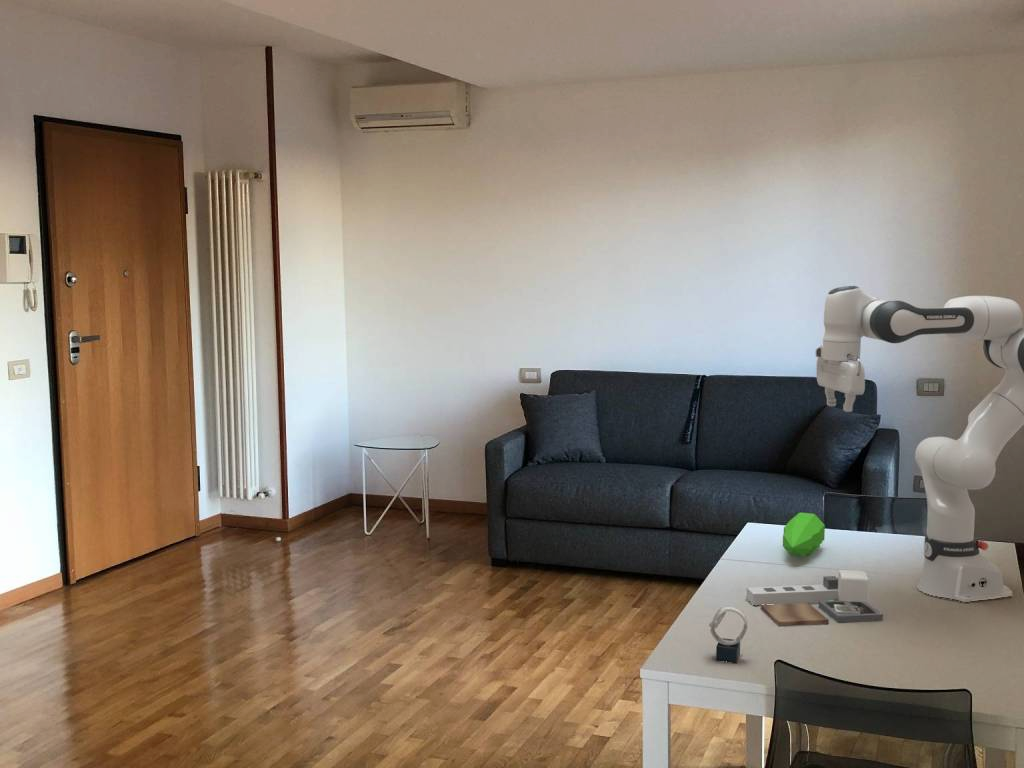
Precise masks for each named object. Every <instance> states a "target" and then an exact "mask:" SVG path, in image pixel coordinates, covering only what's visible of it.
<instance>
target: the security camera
mask: <svg viewBox="0 0 1024 768" xmlns="http://www.w3.org/2000/svg"><path fill="white" fill-rule="evenodd" d="M837 575H838V577H837V578H838V596H839V600H840V602H842V601H843V602H844V603H845V604H846V605H837V604H834V608H833V609H834V610H835V611H836V612H837V613H839V614H840V615H848V614H861V612H860V609H859V607H858V606H853V605H852V604H851V603H850V602H864V603H868V593H869V576H868V574H867V573H866V571H864V570H850V569H849V570H847V569H846V570H845V569H838V574H837Z"/></svg>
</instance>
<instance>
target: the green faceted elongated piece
mask: <svg viewBox="0 0 1024 768" xmlns="http://www.w3.org/2000/svg"><path fill="white" fill-rule="evenodd" d="M825 530H826V524H825V523H823V522H822V520H821V519H820V518H819V517H818V516H817V515H816V514H815V513H809V512H799V513H797V514H796V515H795V516H794V517H793V518H790V520H789V521H788V522H787V523H786V525H784V527H783V535H782V547H783V548H784V550H785V551H786V552H787V553H788V555H790V556H794V557H800V558H803V557H805V556H810V555H811V554H813V553H814V552H815V551H816V550H817V549H818V548H820V547H821V544H822V543H823V542H824V541H825V533H826V531H825Z"/></svg>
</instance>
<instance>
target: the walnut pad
mask: <svg viewBox="0 0 1024 768" xmlns="http://www.w3.org/2000/svg"><path fill="white" fill-rule="evenodd" d="M761 609H762V610H763V611H764V612H763V611H762V612H763V613H764V614H765V615H767V617H769V618H770V619H771V620H772V621H773V622H774V623H775V624H776V625H777V626H778V627H788V626H790V627H791V626H807V625H808V626H810V625H812V626H813V625H829V621H830V620H829V618H827V617H826V616H825V615H823V614H822V613H821V612H820V611H819V610H818V609H816V608H815V607H814V606H812V605H811V603H797V604H774V605H761V606H760V610H761Z"/></svg>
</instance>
